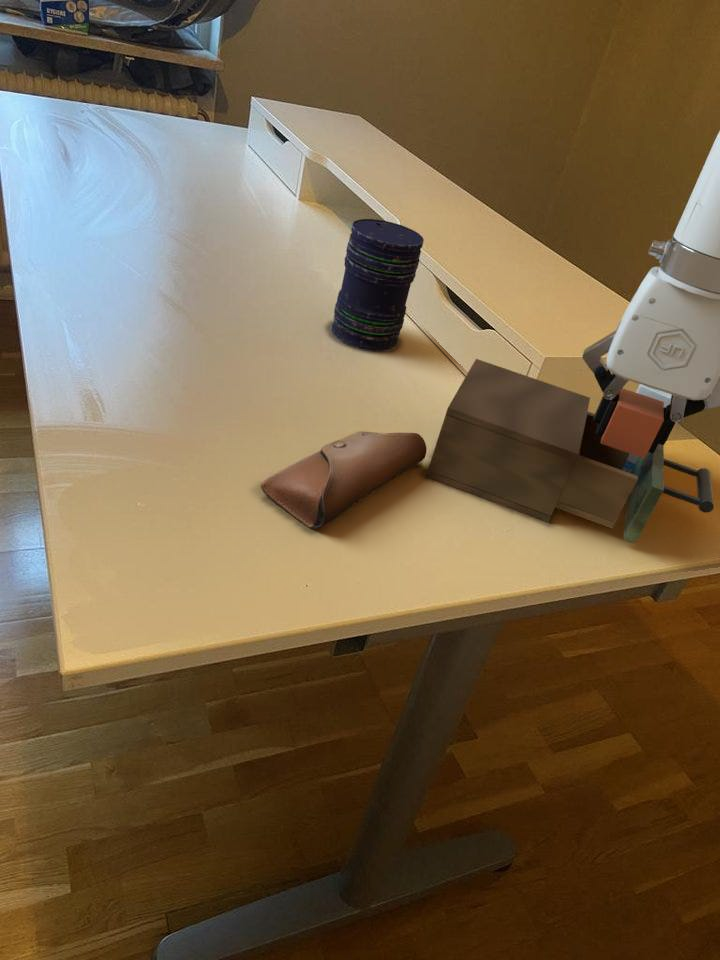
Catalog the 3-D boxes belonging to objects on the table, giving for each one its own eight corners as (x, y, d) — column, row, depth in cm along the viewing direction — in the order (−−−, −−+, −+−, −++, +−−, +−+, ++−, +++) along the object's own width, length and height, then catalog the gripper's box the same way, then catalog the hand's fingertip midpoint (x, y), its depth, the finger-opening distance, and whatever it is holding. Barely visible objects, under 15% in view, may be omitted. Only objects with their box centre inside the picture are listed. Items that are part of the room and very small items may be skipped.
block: (645, 438, 79) (663, 401, 76) (644, 458, 75) (664, 420, 72) (603, 424, 79) (619, 387, 77) (600, 443, 76) (617, 404, 73)
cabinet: (563, 459, 88) (590, 397, 83) (548, 522, 77) (579, 454, 72) (455, 421, 90) (476, 358, 86) (425, 476, 79) (447, 407, 74)
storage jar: (410, 350, 104) (438, 247, 96) (349, 353, 100) (373, 244, 91) (377, 319, 111) (401, 220, 103) (319, 320, 106) (338, 216, 98)
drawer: (686, 499, 85) (715, 450, 81) (690, 564, 74) (723, 511, 70) (534, 445, 88) (554, 395, 84) (517, 499, 77) (539, 446, 73)
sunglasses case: (362, 427, 83) (398, 396, 79) (398, 478, 83) (436, 450, 78) (253, 486, 70) (289, 453, 66) (295, 547, 70) (335, 518, 65)
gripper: (610, 251, 65) (541, 426, 75) (808, 310, 62) (708, 484, 72) (615, 233, 71) (550, 397, 81) (795, 286, 68) (704, 449, 78)
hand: (625, 436), depth 77 cm, fingers closed on block, 4 cm apart
